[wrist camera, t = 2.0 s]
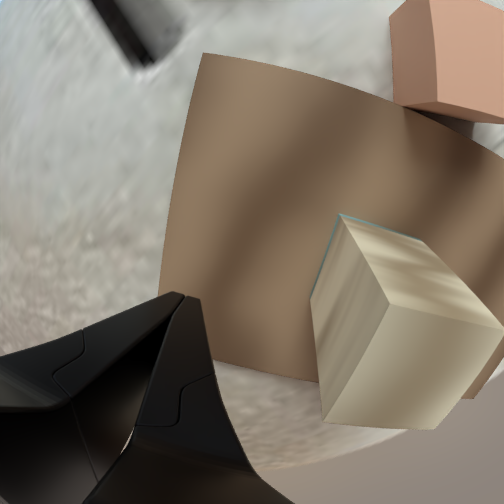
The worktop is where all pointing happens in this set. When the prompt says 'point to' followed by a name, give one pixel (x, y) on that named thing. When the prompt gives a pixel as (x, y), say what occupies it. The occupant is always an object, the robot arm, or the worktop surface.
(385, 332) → the maple block
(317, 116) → the walnut board
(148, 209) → the worktop surface
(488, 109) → the terracotta cube
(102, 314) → the worktop surface
